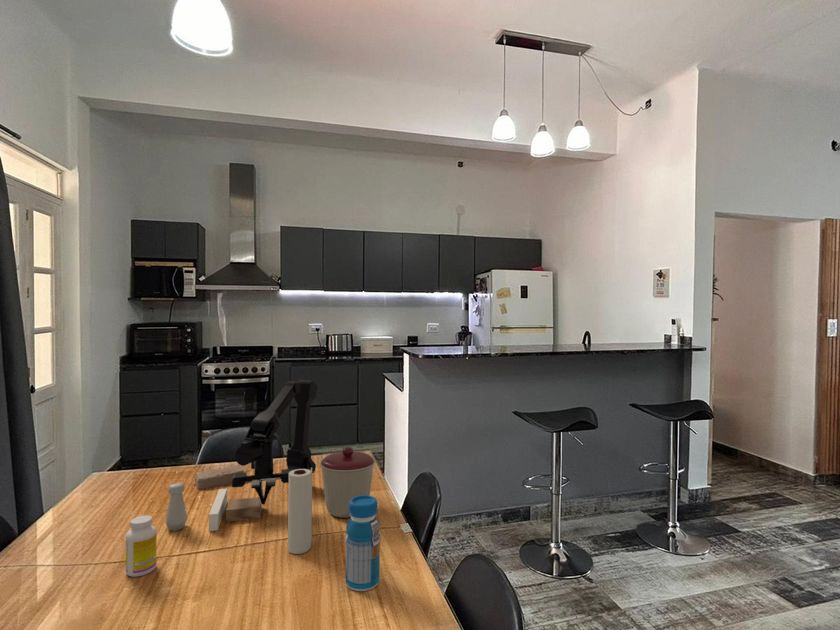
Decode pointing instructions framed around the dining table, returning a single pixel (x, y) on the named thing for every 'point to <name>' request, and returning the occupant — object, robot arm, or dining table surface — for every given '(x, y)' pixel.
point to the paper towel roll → (300, 511)
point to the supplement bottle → (140, 547)
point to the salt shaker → (176, 508)
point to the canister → (345, 479)
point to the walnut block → (243, 509)
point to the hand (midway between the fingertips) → (263, 504)
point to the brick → (216, 476)
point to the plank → (217, 510)
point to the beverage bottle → (362, 544)
